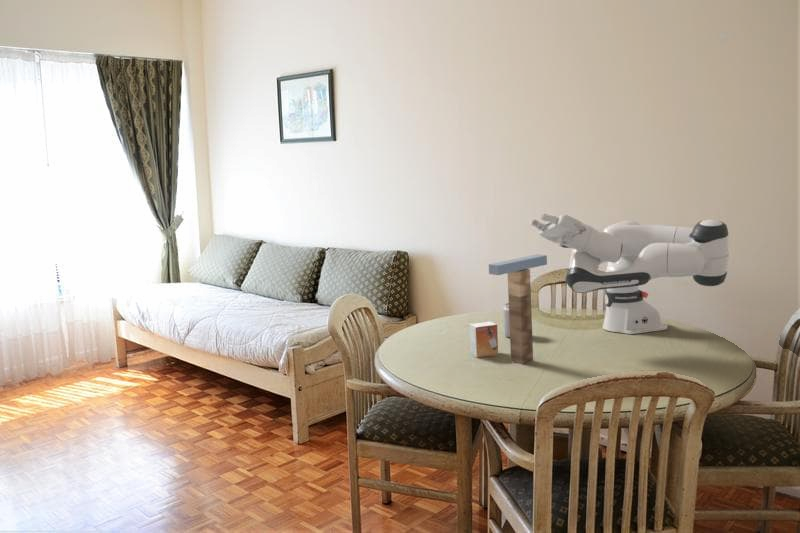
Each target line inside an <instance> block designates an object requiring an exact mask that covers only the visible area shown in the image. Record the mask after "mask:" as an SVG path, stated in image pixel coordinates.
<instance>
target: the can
mask: <svg viewBox="0 0 800 533" xmlns="http://www.w3.org/2000/svg"><path fill="white" fill-rule="evenodd" d="M502 308H503V309H502V317H503V321H502V322H503V335H504V336H505V337H506V336H507V338H508V337H510V323H509V302H507V303H505V304H504V307H502Z"/></svg>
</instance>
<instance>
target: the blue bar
mask: <svg viewBox="0 0 800 533" xmlns="http://www.w3.org/2000/svg"><path fill="white" fill-rule="evenodd" d="M547 264H548V256H547V255H546V254H534V255H528V256H522V257H518V258H514V259H508V260H503V261H498V262H494V263H490V264H488V274H489V275H494V276H500V275H501V276H502V275H506V274H508V273H511V272H515V271H520V270H525V269H534V268H537V267H542V266H543V267H544V266H546V265H547Z"/></svg>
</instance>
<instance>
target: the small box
mask: <svg viewBox="0 0 800 533" xmlns="http://www.w3.org/2000/svg"><path fill="white" fill-rule="evenodd" d="M469 338H470V340H469V341H470V343H469V344H470V354H471V355H472V356H474V357H476V358H482V357H489V356H491V355H492V356H497V354H498V355H499V342H498V341H499V338H498V324H496V323H495V322H493V321H492V320H490V321H485V322H479V323H469Z"/></svg>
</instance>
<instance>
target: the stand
mask: <svg viewBox="0 0 800 533" xmlns="http://www.w3.org/2000/svg"><path fill="white" fill-rule="evenodd" d="M507 291H508V292H507V294H508V303H509V323H510V338H509V344H510V347H509V348H510V362H512V361H513V363H516V364H519V365H524V364H528V363H531V362H533V361H534V348H533V346H534V345H533V321H532V320H533V318H532V315H533V314H532V312H533V311H532V290H531V268H529V269H525V270H520V271H515V272H511V273H507ZM530 361H531V362H530ZM527 362H528V363H527Z"/></svg>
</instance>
